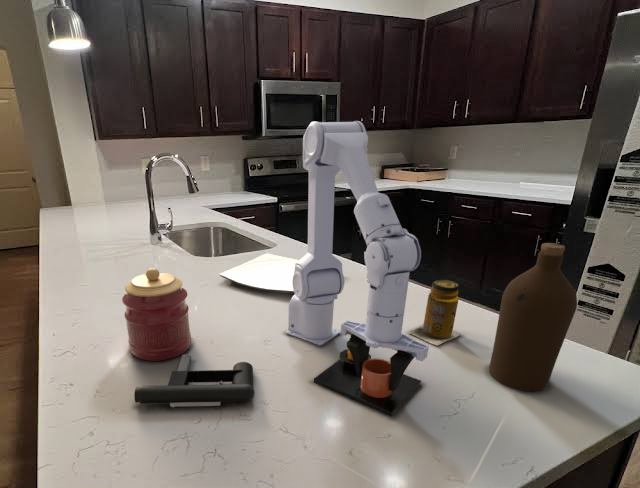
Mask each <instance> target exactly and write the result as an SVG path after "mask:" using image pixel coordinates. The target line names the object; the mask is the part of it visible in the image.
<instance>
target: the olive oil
mask: <svg viewBox="0 0 640 488" xmlns="http://www.w3.org/2000/svg"><path fill="white" fill-rule="evenodd" d="M565 249H566V246H565V245H563V244H559V243H556V242H555V243H553V242H544V243H542V244H541V246H540V251H538V254H537V257H536V258H537V259H536V263H535V265H534V266H533V267H531V268H530V269H528V270H526V271H525V272H523V273H520V274H519V275H518V276H516V277H515V278H513V279H512V280H511V281H510V282H509V283H508V284H507V286H506V287H505V289H504V291H503V292H502V297H501V302H500V309H499V313H498V320H497V326H496V330H495V337H494V341H493V347H492V353H491V357H490V362H489V365H488V367H489V368H488V372H489V375H490V376H491V377H492V378H493V379H494V380H495V381H496V382H498V383H500V384H502V385H503V386H505V387H509V388H511V389H515V390H518V391H524V392H538V391H542V390H545V389H546V388H547V387H548V385H549V382H550V379H551V377H552V374H553V372H554V369H555V365H556V362H557V360H558V357H559V355H560V352H561V349H562V347H563V344H564V341H565V339H566V336H567V334H568V331H569V328H570V326H571V323H572V322H573V318H574V316H575V314H576V311H577V307H578V297H577V292H576V290H575V288H574V286H573V285H572V284H571V283H570V281H569V280H568V279H567V277H566V276H565V274H564V273H563V272H562V270H561V266H562V263H563V260H564V257H565V256H564V252H565Z"/></svg>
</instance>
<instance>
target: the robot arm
mask: <svg viewBox="0 0 640 488" xmlns="http://www.w3.org/2000/svg"><path fill="white" fill-rule="evenodd" d="M368 144H369V135H368V134H367V129H366V127H365V125H364V123H363V122H362V121H359V120H354V121H328V122H326V121H325V122H324V121H323V122H322V121H311V122H310V123H309V125H308V126H307V128H306V130H305V132H304V134H303V137H302V162H303V163H302V167H303V169H304V170H306V171H308V194H307V195H308V202H307V204H308V206H307V207H308V209H307V252H306V254H304V255H303V256H302V257H301V258H299V259H297V260H298V261H297V262H296V263H295V270H294V275H293V279H292V285H293V290H294V293H293V294H294V295H292V297H291V299H290V301H289V304H288V318H287V319H288V321H287V322H288V323H287V325H288V326H287V330H286V331H285V333H286V334H287V335H290V336H292V337H295V338H298V339H300V340H304V341H306V342H309V343H311V344H315V345H317V346H319V347H320V346H321V347H322V346H323V345H324V344H327V342H329V341H331V340H332V339H334V338H335V337H336V336H338V335H339V334H341V335H342V336H348V335H349V336H350V337H349V340H347V341H346V349H349V351H350V353H351V355H352V357H353V360H354V363H355V368H356V373H357V377H358V378H361V374H362V365H363V362H364V361H366V360H368V355H369V354H370V351H371V348H373V349H378V348H383V349H390V350H393V351H395V352H396V353H394V354H393V355H392V356H391V357H389V362H390V363H391V378H390V383H389V390H390V391H394V390H395V389H396V388H397V387H398V385H399V382H400V380H401V377H402V375H403V374H405V372H406V370H407V368H408V367H409V366H410V364H411V363H412V361H413V360H414V359H415V360H417V361H420V362H423V361H424V360H426V359H427V357H428V353H429V347H430V346H429V345H426V344H424V343H422V342H419V341H417V340H415V339H413V338H411V337H410V336H408V335H406V334H404V333H402V332H403V331H402V330H403V324H404V316H405V310H406V309H405V308H406V302H407V295H408V289H409V281H410V274H411V272H413V271H415V270H416V269H417V268H418V267H419V265H420V262H421V259H422V249H421V245H420V242H419V239H418V238H417V237H416V235H414V234H412V233H409V231H408V229H406V228H403V227H402V224H401V223H400V220H399V218H398V215H397V213H396V210H395V209H394V207H393V204H392V202H391V200H390V197H389V196H388V195H387V194H385V193H381V192H379V191H378V187H377V184H376V181H375V179H374V175H373V172H372V168H371V166H370V163H369V159H368V157H367V154H366V152H367V150H368ZM339 172H341V173H342V175H343V177H344V179H345V181H346V183H347V185H348V186H349V188H350V190H351V193H352V194H353V197H354V198H355V200H356V204H355V206H354V209H353V214H354V215H355V219H356V221H357V224H358V227H359V229H360V231H361V234H362V236H363V239H364V241H365V244H366V250H365V251H364V252H363V253H364V255H363V257H364V265H365V267H366V279H367V283H368V284H369V285H368V286H369V287H368V295H367V296H368V298H367V307H366V318H365V323H360V322H355V321H351V320H346V321H344V322H342V323H341V325H340V330H338V329H335V328H333V323H334V321H333V320H334V308H335V307H334V306H335V300H338V295H340V294H341V293H342V292H343V290H344V287H345V277H344V273H343V271H344V270H343V263H342V261H341V260H339V258H338V257H336V256H334V255H333V249H334V248H333V247H334V246H333V245H334V244H333V243H334V220H335V219H334V218H335V217H334V216H335V188H336V184H335V183H336V176H337V174H338V173H339Z"/></svg>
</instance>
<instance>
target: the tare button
mask: <svg viewBox="0 0 640 488" xmlns="http://www.w3.org/2000/svg"><path fill="white" fill-rule="evenodd" d="M347 349H348V348H347ZM347 358H348V359H350V360H352V361H354V360H353V357H352V355H351V353H350V351H349V349H348V355H347Z"/></svg>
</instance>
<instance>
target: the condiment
mask: <svg viewBox="0 0 640 488" xmlns="http://www.w3.org/2000/svg"><path fill="white" fill-rule="evenodd" d="M459 289H460V285H459V284H458V283H456V282H455V281H452V280H448V279H438V280H434V281H433V282H432V283H431V289H430V292H429V293H428V295H427V300H426V307H425V313H424V320H423V325H422V326H420V327H417V328H415V329H413V330H409V331H408V333H409V334H411V335H413V336H414V337H417V338H418V339H421V340H423V341H424V342H427V343H430V344H432V345H434V346H440V345H441V344H443V343H446V342H448V341H451V340H453V339H456V338H458V337H459V336H460V335H461V334H460V333H458V332H454V331H453V330H454V325H455V319H456V314H457V309H458V304H459V296H458V295H459Z"/></svg>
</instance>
